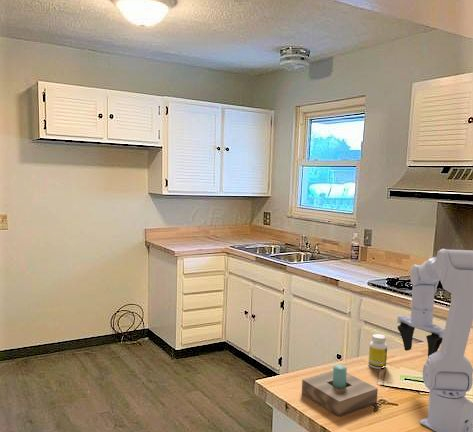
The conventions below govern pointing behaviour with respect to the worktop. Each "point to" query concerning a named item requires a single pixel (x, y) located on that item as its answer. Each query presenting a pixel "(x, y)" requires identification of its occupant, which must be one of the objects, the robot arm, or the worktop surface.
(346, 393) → the socket block
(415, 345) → the worktop surface
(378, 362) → the supplement bottle
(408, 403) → the worktop surface
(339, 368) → the teal pin
